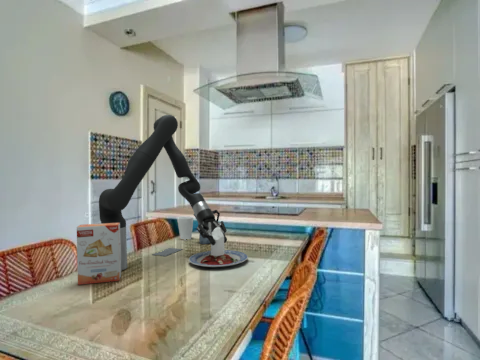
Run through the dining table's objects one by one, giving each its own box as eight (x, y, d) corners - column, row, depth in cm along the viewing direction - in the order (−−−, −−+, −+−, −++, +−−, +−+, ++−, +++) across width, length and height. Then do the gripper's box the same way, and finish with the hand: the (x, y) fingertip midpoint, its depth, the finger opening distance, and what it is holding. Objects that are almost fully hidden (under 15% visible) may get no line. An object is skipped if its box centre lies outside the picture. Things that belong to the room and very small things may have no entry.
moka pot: (191, 242, 174) (190, 207, 173) (217, 239, 180) (216, 205, 180) (196, 245, 165) (195, 208, 165) (223, 242, 172) (222, 207, 171)
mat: (165, 256, 144) (165, 255, 144) (152, 255, 147) (152, 254, 147) (182, 249, 157) (182, 249, 157) (169, 248, 160) (169, 247, 160)
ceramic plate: (176, 266, 128) (176, 259, 128) (210, 252, 151) (209, 246, 151) (229, 274, 116) (229, 267, 116) (257, 257, 139) (257, 251, 138)
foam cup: (192, 240, 178) (191, 218, 178) (176, 241, 178) (175, 218, 178) (194, 237, 188) (194, 216, 188) (180, 237, 188) (179, 216, 188)
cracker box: (77, 285, 107) (75, 226, 107) (81, 280, 113) (79, 224, 112) (120, 281, 111) (118, 224, 110) (121, 276, 116) (120, 221, 116)
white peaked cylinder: (209, 228, 130) (210, 226, 135) (210, 256, 130) (211, 252, 136) (223, 227, 130) (224, 225, 136) (224, 255, 130) (224, 252, 136)
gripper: (193, 209, 133) (210, 240, 125) (219, 206, 143) (236, 235, 134) (187, 220, 137) (202, 251, 129) (212, 216, 147) (229, 245, 138)
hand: (219, 242), depth 132 cm, fingers closed on white peaked cylinder, 5 cm apart
